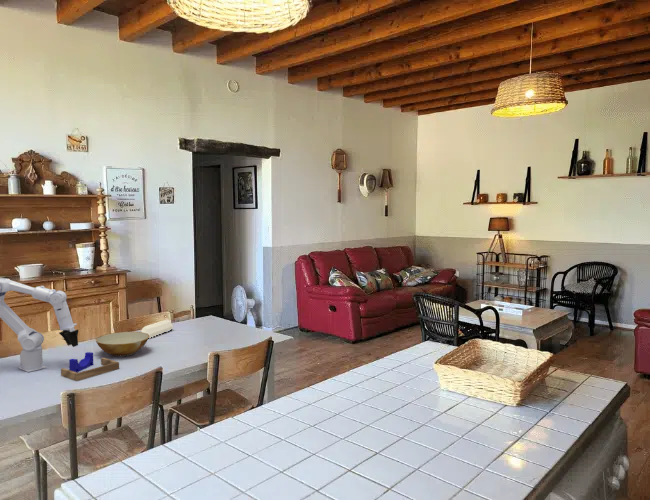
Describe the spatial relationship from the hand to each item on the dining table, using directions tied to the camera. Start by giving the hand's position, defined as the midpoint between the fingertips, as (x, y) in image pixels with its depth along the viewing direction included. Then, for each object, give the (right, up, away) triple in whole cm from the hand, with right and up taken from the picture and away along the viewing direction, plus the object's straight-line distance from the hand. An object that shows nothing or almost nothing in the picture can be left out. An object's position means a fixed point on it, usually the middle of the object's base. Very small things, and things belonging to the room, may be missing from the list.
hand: (73, 345), depth 222 cm
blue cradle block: (+4, -11, -1) cm, 11 cm away
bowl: (+13, -9, +24) cm, 28 cm away
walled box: (+11, -11, -6) cm, 16 cm away
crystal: (+17, -6, +62) cm, 64 cm away
